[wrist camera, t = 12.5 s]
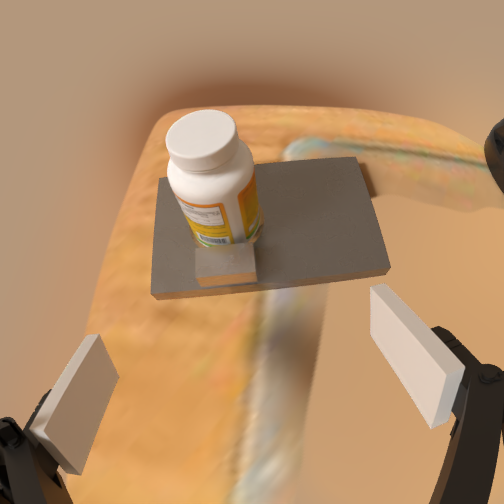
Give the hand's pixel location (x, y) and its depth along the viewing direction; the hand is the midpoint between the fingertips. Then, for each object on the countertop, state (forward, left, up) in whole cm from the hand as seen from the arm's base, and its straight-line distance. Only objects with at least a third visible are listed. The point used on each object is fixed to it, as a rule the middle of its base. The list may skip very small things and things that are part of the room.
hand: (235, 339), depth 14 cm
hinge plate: (-6, -9, -8) cm, 14 cm away
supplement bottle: (-3, -10, -7) cm, 13 cm away
